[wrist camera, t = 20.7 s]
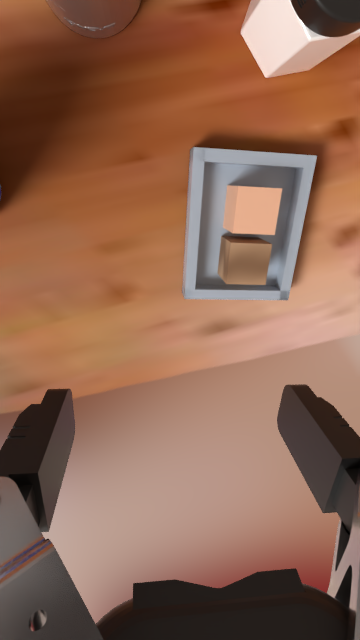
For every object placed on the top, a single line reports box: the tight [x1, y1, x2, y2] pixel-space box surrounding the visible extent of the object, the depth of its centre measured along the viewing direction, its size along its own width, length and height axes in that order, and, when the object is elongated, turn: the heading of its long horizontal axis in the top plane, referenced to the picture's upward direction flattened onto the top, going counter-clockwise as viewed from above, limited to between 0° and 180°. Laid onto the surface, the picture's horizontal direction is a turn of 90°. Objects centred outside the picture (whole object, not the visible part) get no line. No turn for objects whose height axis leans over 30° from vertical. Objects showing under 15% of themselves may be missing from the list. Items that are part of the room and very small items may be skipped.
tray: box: [182, 147, 317, 300], centre depth 36 cm, size 16×13×2 cm
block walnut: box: [218, 236, 272, 285], centre depth 36 cm, size 4×4×4 cm
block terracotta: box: [223, 185, 282, 235], centre depth 34 cm, size 4×4×4 cm
